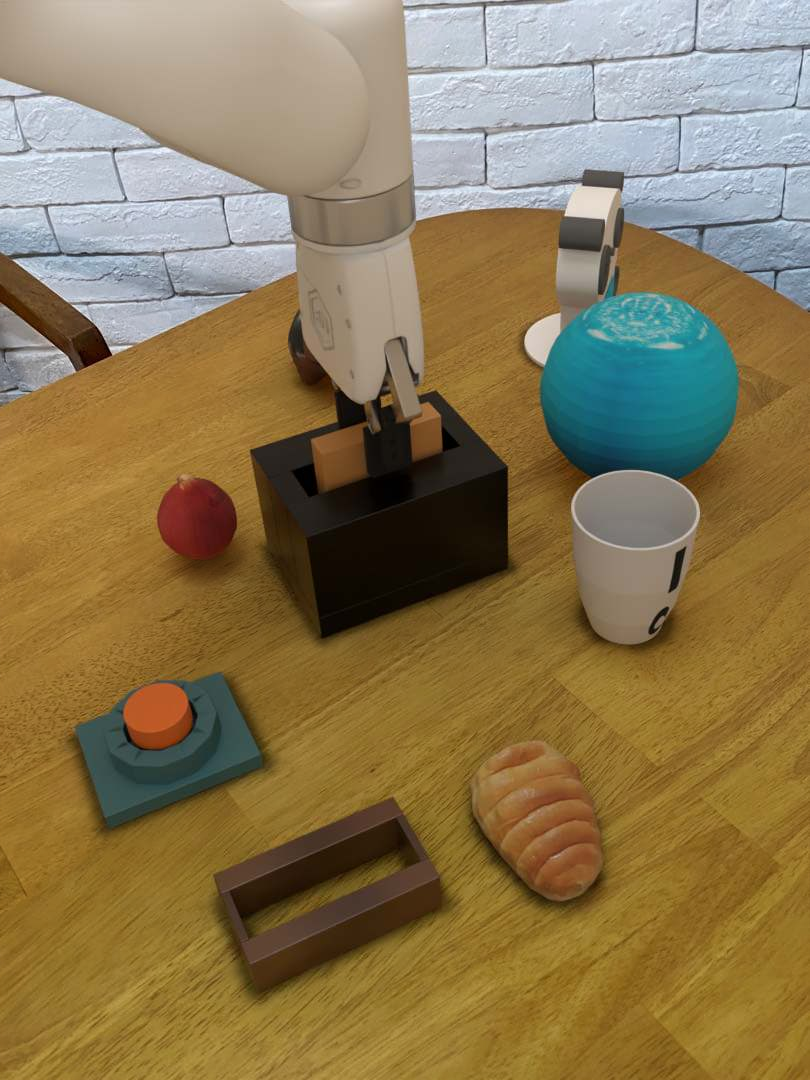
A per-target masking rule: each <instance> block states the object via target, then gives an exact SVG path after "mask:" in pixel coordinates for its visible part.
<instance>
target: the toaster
mask: <svg viewBox="0 0 810 1080" xmlns="http://www.w3.org/2000/svg"><path fill="white" fill-rule="evenodd" d="M417 396H418V400H419V403H420V404H423V403H427V402H429V403H430V404H431V405H432V406H433V407H434V409H435V410H436V411H437V412H438V413H439V414H440V415H441V428H442V453H439V454H436V455H433V456H430V457H427V458H424V459H421V460H418V461H415V462H412V464H411V465H410V466H409V467H406V468H403V469H400V470H397V471H395V472H392V473H389V474H386V475H383V476H380V477H377V478H371V477H368V478H365V479H362V480H359V481H356V482H353V483H350V484H347V485H344V486H341V487H338V488H335V489H332V490H329V491H327V492H324V493H321V494H318V488H317V481H316V474H315V466H314V459H313V451H312V444H311V439H314V438H317V437H320V436H323V435H326V434H329V433H332V432H336V431H339V429H338V421H336V422H333V423H329V424H326V425H323V426H320V427H317V428H314V429H310V430H308V431H305V432H304V431H303V432H301V433H298V434H294V435H292V436H288V437H285V438H282V439H279V440H276V441H273V442H269V443H267V444H264V445H261V446H257V447H254V448H250V449H249V454H250V459H251V465H252V471H253V476H254V481H255V487H256V493H257V497H258V502H259V507H260V513H261V518H262V524H263V530H264V534H265V535H264V536H265V540H266V546H267V549H268V551H269V553H270V555H271V556H272V558H273V560H274V562H275V563H276V564H277V566H278V568H279V570H280V571H281V573H282V574H283V576H284V578H285V580H286V581H287V583H288V585H289V586H290V588H291V589H292V591H293V593H294V594H295V597H296V598H297V599H298V602H299V603H300V604H301V606H302V608H303V609H304V611H305V613H306V614H307V616H308V618H309V620H310V621H311V623H312V624H313V626H314V628H315V630H316V631H317V633H318V635H319V637H320V638H321V639H322V640H323V639H325V638H328V637H332V636H334V635H336V634H340V633H341V632H344V631H346V630H349V629H352V628H354V627H357V626H360V625H363V624H366V623H368V622H371V621H372V620H375V619H376V620H377V619H378V618H381V617H383V616H386V615H389V614H392V613H394V612H397V611H399V610H402V609H405V608H407V607H410V606H412V605H415V604H418V603H420V602H423V601H426V600H429V599H431V598H433V597H434V598H435V597H436V596H439V595H441V594H444V593H447V592H449V591H452V590H454V589H457V588H460V587H463V586H465V585H467V584H470V583H473V582H476V581H479V580H480V579H483V578H486V577H488V576H491V575H494V574H496V573H499V572H501V571H502V572H503V571H505V570H507V569H509V466H508V465H507V464H506V463H505V462H504V461H503V459H502V458H500V456H499V455H498V454H497V453H496V452H495V451H494V450H493V449H492V448H491V447H490V446H489V444H487V442H486V441H485V440H484V439H483V438H482V437H481V436H480V435H479V434H478V433H477V432H476V431H475V430H474V429H473V427H471V425H469V423H468V422H467V421H466V420H465V419H464V418H463V417H462V416H461V415H460V414H459V412H458V411H456V409H455V408H454V407H453V406H452V405H451V404H450V403H449V402H448V401H447V400H446V399H445V398H444V397H443V395H441V393H440V392H438V390H436V389H435V390H432V391H429V392H426V393H422V394H419V395H417ZM381 407H382V408H383V407H384V406H381Z"/></svg>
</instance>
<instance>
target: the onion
mask: <svg viewBox="0 0 810 1080" xmlns="http://www.w3.org/2000/svg"><path fill="white" fill-rule="evenodd" d="M176 481H177V482H176V483H175V484H173V485H172V486H171V487H170V488H169V489H168V490H167V491H166V492H165V494H164V495H162V497H161V501H160V504H159V507H158V509H157V514H156V523H157V524H156V525H157V528H158V532H159V535H160V537H161V540H162V542H163V543H164V544H165V545H167V547H168V548H169V549H171V551H173V553H176V554H177V555H180V556H182V557H184V558H188V559H195V560H198V561H207V560H211V559H212V558H215V557H218V556H219V555H220V554H221V553H222V552H224V551H225V550H226V549H227V548H228V547H229V546H230V544H231V543H232V540H233V539H234V536H235V534H236V531H237V529H238V516H237V510H236V506H235V505H234V502H233V499H232V498H231V496H230V495H229V494H228V493H227V492H226V491H225V490H224V489H223V488H221V487H220V486H219V485H218V484H217V483H216V482H213V481H211V480H209V479H205V478H201V477H194V476H191V475H190V474H188V473H187V474H186V473H184V474H181V475H178V476H176Z"/></svg>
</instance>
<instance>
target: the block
mask: <svg viewBox="0 0 810 1080" xmlns="http://www.w3.org/2000/svg"><path fill="white" fill-rule="evenodd" d="M157 683H169V684H173V685H176V686H178V687H179V688H181V689H182V690H183V691H184V692H185V693H186V695H187V698H188V701H189V705H190V708H191V712H192V715H193V725H192V728H191V730H190V732H189V734H188V735H187V736H186V737H185V738H184V739H183V740H182V741H181V742H179V743H178V744H176V745H174V746H172V747H169V748H167V749H163V750H147V749H143V748H141V747H139V746H138V745H136V744H135V743H134V742H133V741H132V739H131V737H130V734H129V731H128V729H127V726H126V723H125V720H124V715H123V712H124V707H125V704H126V702H127V701H128V699H129V698H130V697H131V696H132V695H133V694H134V693H135V692H137V691H138V690H140V689H141V688H143V687H146V686H148V685H152V684H157ZM74 730H75V733H76V736H77V739H78V741H79V745H80V747H81V752H82V754H83V756H84V757H83V758H84V760H85V762H86V766H87V769H88V773H89V776H90V778H91V781H92V784H93V787H94V790H95V794H96V796H97V799H98V802H99V805H100V808H101V811H102V814H103V817H104V820H105V822H106V825H107V828H108V829H109V830H110V829H113V828H115V827H117V826H120V825H123V824H125V823H128V822H130V821H132V820H135V819H137V818H140V817H142V816H145V815H147V814H149V813H152V812H154V811H157V810H159V809H162V808H164V807H167V806H169V805H171V804H174V803H177V802H179V801H181V800H183V799H186V798H188V797H191V796H194V795H196V794H198V793H200V792H203V791H206V790H208V789H211V788H214V787H215V786H218V785H220V784H223V783H226V782H228V781H230V780H232V779H235V778H238V777H240V776H242V775H245V774H248V773H249V772H251V771H254V770H257V769H259V768H262V767H264V761H263V757H262V753H261V750H260V749H259V747H258V745H257V743H256V741H255V739H254V736H253V734H252V733H251V730H250V729H249V726H248V724H247V722H246V720H245V718H244V716H243V714H242V712H241V710H240V708H239V706H238V704H237V702H236V700H235V698H234V695H233V694H232V691H231V689H230V687H229V686H228V683H227V682H226V679H225V677H224V675H223V673H222V671H216V672H214V673H211V674H209V675H206V676H203V677H201V678H198V679H196V680H193V681H189V680H182V679H181V680H179V679H178V680H175V679H174V680H173V679H164V680H163V679H159V680H156V681H153V682H150V683H147V684H145V685H141V686H139V687H137V688H134V689H131V690H130V691H129V692H128V693H127V694H126V695H124V697H123V698H121V700H120V701H118V702H117V703H116V704H115V705H114V706H113V707H112V708H111V709H110V711H109V713H106V714H103V715H100V716H98V717H95V718H93V719H90V720H88V721H85V722H82V723H79V724H77V725H74Z"/></svg>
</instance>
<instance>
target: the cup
mask: <svg viewBox="0 0 810 1080" xmlns="http://www.w3.org/2000/svg"><path fill="white" fill-rule="evenodd" d="M570 507H571V508H570V509H571V535H572V559H573V564H574V569H575V575H576V582H577V586H578V592H579V597H580V601H581V602H582V605H583V608H584V610H585V613H586V616H587V619H588V622H589V624H590V626H591V628H592V629H593V630H594V632H595V633H596V634H598V635H599V636H600V637H601V638H602V639H604V640H606V641H608V642H612V643H615V644H618V645H619V644H620V645H638V644H642V643H645V642H648V641H649V640H651V639H653V638H654V637H655V636H657V635H658V633H659V632H660V631H661V629H662V627H663V626H664V624H665V623H666V621H667V619H668V617H669V616H670V614H671V613H672V611H673V609H674V608H675V605H676V604H677V600H678V597H679V594H680V592H681V590H682V587H683V584H684V581H685V579H686V576H687V573H688V570H689V567H690V564H691V560H692V559H691V558H692V554H693V549H694V544H695V541H696V536H697V531H698V528H699V527H698V526H699V522H700V518H701V509H700V505H699V502H698V500H697V498H696V497H695V495H694V494H693V493H692V492H691V490H689V488H687V487H686V486H685V485H684V484H682V483H681V482H679V481H675V480H673V479H671V478H669V477H667V476H664V475H661V474H657V473H653V472H648V471H640V470H622V471H614V472H609V473H605V474H602V475H599V476H597V477H595V478H593V479H592V478H590V479H589V480H587V481H586V482H585V483H583V484H582V485H581V486H580V487H579V488H578V489H577V491H576V492H575V494H574V495H573V497H572V499H571V505H570Z"/></svg>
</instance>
